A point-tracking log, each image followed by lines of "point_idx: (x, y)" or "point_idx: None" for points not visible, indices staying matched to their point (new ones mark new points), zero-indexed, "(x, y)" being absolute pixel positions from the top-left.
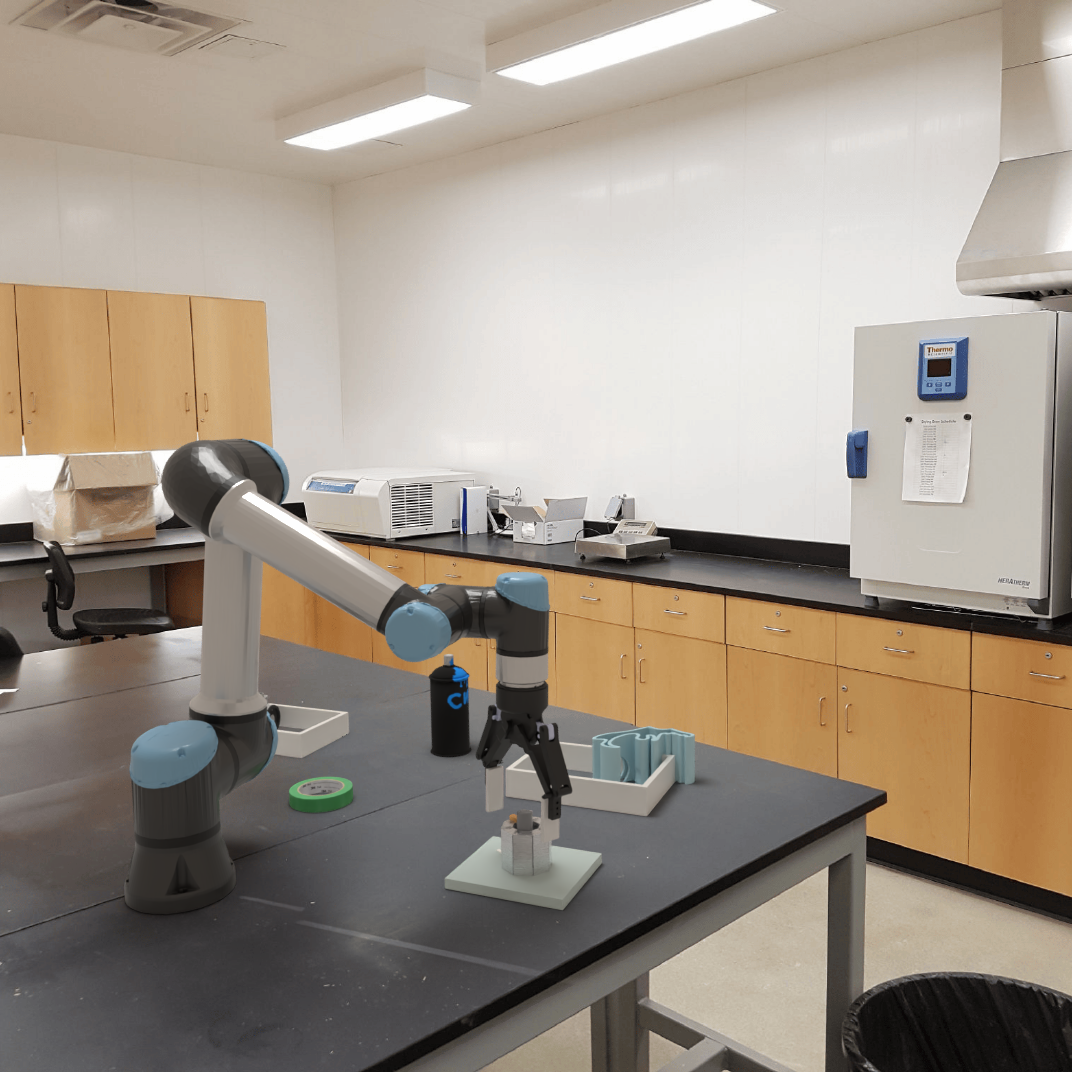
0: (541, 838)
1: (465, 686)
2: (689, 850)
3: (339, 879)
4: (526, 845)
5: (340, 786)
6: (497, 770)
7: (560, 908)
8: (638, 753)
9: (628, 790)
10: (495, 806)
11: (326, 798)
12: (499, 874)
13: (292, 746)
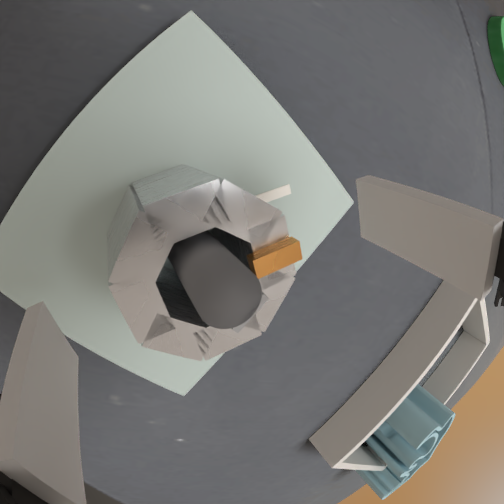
0: (37, 308)
1: None
2: (185, 476)
3: None
4: (115, 247)
5: None
6: (478, 268)
7: None
8: (404, 449)
9: (347, 443)
10: (368, 211)
11: (501, 38)
12: (149, 147)
13: None
